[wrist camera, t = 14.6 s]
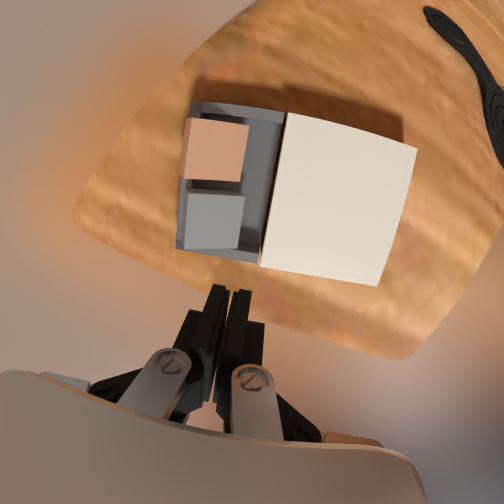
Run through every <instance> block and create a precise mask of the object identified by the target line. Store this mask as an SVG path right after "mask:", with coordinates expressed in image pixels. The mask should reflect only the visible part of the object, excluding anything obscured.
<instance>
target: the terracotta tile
mask: <svg viewBox="0 0 504 504" xmlns="http://www.w3.org/2000/svg"><path fill="white" fill-rule="evenodd" d="M248 131H249V126H248V125H242V124H235V123H229V122H222V121H215V120H207V119H199V118H186V124H185V131H184V137H183V145H182V152H181V160H180V168H179V175H180V176H181V177H182V178H184V179H203V180H221V181H236V182H240V178H241V172H242V166H243V160H244V154H245V148H246V143H247V137H248Z"/></svg>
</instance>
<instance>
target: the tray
mask: <svg viewBox="0 0 504 504" xmlns="http://www.w3.org/2000/svg"><path fill="white" fill-rule="evenodd" d="M284 113H285V112H280V111H275V110H269V109H262V108H256V107H249V106H241V105H233V104H224V103H215V102H203V101H191V107H190V114H189V118H199V119H207V120H215V121H222V122H229V123H235V124H242V125H248V126H249V131H248V137H247V143H246V148H245V154H244V160H243V166H242V172H241V178H240V182H236V181H221V180H203V179H184V178H182V177H181V185H180V195H179V207H178V219H177V234H176V249H180V250H185V251H190V252H196V253H201V254H207V255H212V256H218V257H223V258H229V259H234V260H240V261H246V262H251V263H257V261H258V255H259V248H260V242H261V237H262V232H263V226H264V221H265V215H266V210H267V204H268V199H269V193H270V188H271V182H272V177H273V171H274V166H275V160H276V155H277V149H278V144H279V138H280V132H281V127H282V124H283V118H284ZM185 188H194V189H213V190H229V191H239V192H240V193H241V194H243V195H244V196H245V202H244V208H243V215H242V221H241V228H240V234H239V241H238V247H237V249H184V247H183V244H182V241H181V235H182V222H183V210H184V199H185Z"/></svg>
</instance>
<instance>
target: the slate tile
mask: <svg viewBox="0 0 504 504" xmlns="http://www.w3.org/2000/svg"><path fill="white" fill-rule="evenodd" d="M244 202H245V196H244V195H243V194H241V193H240V192H239V191H229V190H213V189H194V188H185V199H184V210H183V222H182V235H181V241H182V244H183V247H184V249H237V247H238V241H239V234H240V228H241V221H242V215H243V208H244Z"/></svg>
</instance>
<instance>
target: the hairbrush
mask: <svg viewBox="0 0 504 504" xmlns="http://www.w3.org/2000/svg"><path fill="white" fill-rule="evenodd" d="M423 12H424V15H425V16H426V18H427V19H428V20H427V19H426V20H427V22H428V21H429V22H430V23H429V22H428V24H429V25H430V26H431V27H432V28H433V29H434V30H435V31H436V32H437V33H438V34H439V35H440V36H441V37H442V38H443V39H444V40H445V41H446V42H448V43H449V44H450V45H451V46H452V47H453V48H454V49H455V50H457V51H458V52H459V53H460V54H461V55H462V56H463V57H464V58H465V59H466V60H467V62H468V63H469V64H470V66H471V67H472V68H473V70H474V71H475V73H476V74H477V76H478V77H479V78H480V80H481V81H482V92H483V112H484V109H485V116H484V118H485V120H486V121H485V122H486V128H487V131H488V134H489V137H490V140H491V143H492V146H493V149H494V151H495V153H496V155H497V158H498V160H499V162H500V164H501V165H502V167H503V168H504V121H503V120H504V91H503V90H502V89H501V88H500V87H502V86H498V85H497V83H496V81H495V79H494V78H493V76H492V74H491V72H490V71H489V69H488V67H487V66H486V64H485V62H484V61H483V59H482V58H481V56H480V55H479V53H478V52H477V50H476V49H475V47H474V46H473V44H472V43H471V41H470V40H469V39H468V37H467V36H466V34H465V33H464V32H463V30H462V29H461V28H460V27H459V26H458V25H457V24H456V23H454V22H453V21H452V20H451V19H450V18H449V17H447V16H446V15H445V14H444V13H442V12H440V11H437V10H435V9H433V8H430V7H428V8H426V9H424V11H423ZM503 88H504V87H503ZM493 94H497V95H493ZM497 105H499V106H498V107H497Z"/></svg>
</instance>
